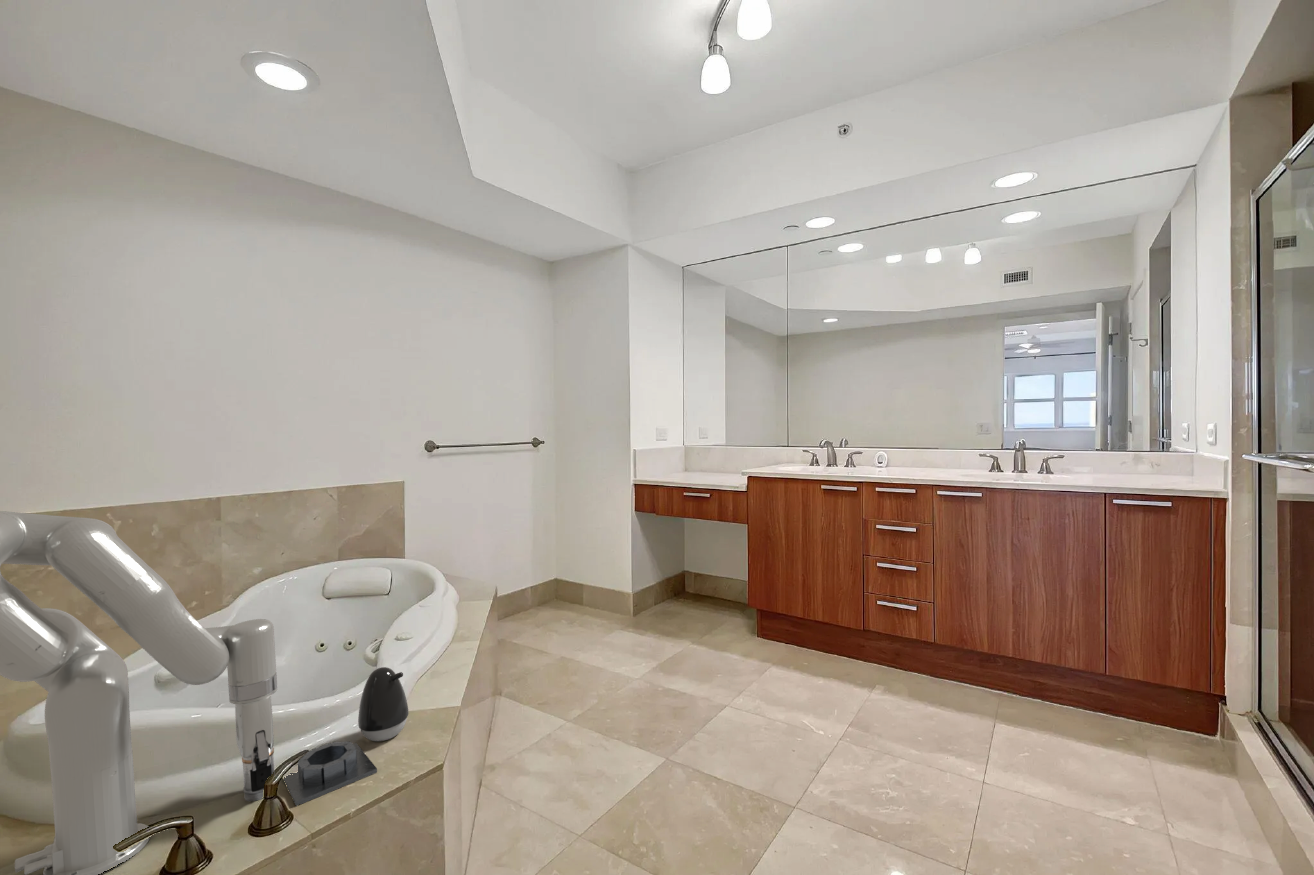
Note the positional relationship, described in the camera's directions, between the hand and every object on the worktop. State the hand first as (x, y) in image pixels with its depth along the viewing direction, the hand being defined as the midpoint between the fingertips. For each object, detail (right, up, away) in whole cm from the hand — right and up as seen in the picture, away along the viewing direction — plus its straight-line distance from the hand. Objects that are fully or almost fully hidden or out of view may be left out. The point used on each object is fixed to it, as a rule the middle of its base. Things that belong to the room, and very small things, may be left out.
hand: (259, 780), depth 109 cm
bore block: (+10, -2, +5) cm, 12 cm away
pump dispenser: (+15, -2, +19) cm, 24 cm away
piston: (0, -2, 0) cm, 2 cm away
